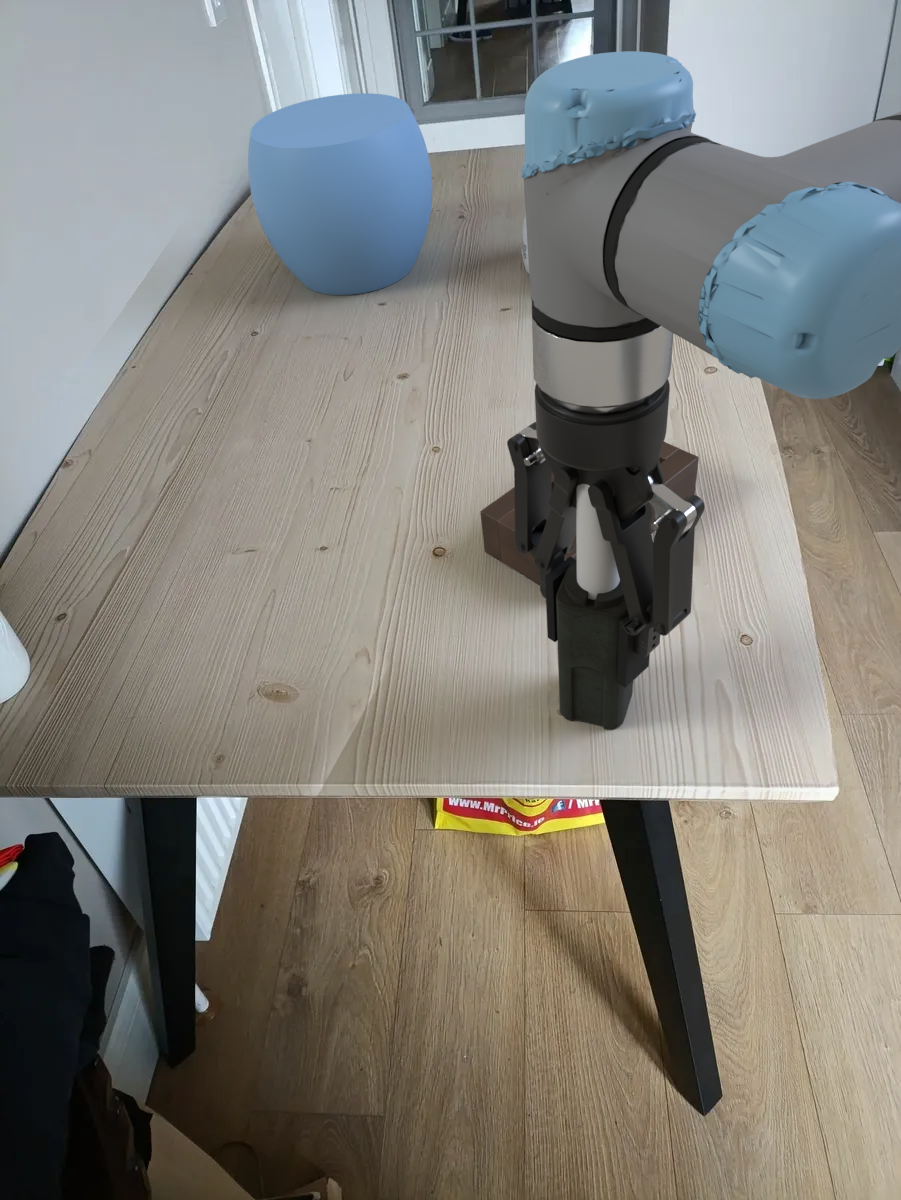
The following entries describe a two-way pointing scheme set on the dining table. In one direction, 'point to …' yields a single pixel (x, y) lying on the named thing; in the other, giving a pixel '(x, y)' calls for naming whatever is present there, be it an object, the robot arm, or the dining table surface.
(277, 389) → the dining table surface
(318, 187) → the blue rounded stool
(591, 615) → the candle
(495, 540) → the rack
